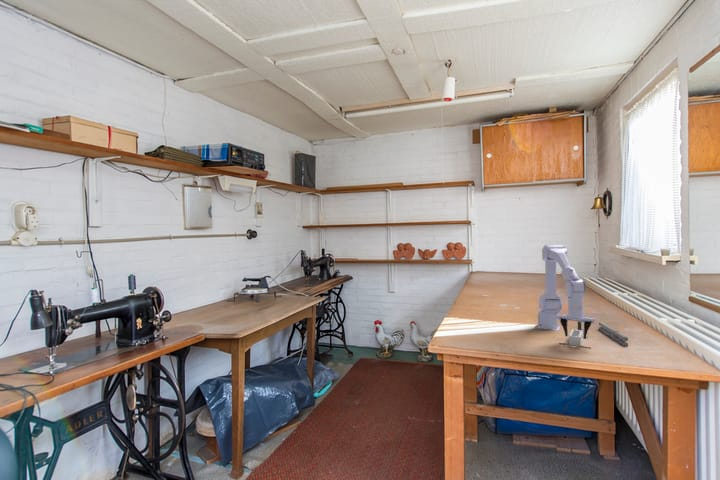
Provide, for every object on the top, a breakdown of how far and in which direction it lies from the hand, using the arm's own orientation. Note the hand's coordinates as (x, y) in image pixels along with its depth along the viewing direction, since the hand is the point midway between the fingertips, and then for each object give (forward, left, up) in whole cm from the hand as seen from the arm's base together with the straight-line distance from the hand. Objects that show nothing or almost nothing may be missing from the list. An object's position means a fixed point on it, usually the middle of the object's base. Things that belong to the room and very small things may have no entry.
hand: (575, 337), depth 162 cm
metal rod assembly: (+13, +19, -4) cm, 24 cm away
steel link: (0, +3, -3) cm, 4 cm away
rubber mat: (0, +3, -3) cm, 5 cm away
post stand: (0, +18, -3) cm, 18 cm away
